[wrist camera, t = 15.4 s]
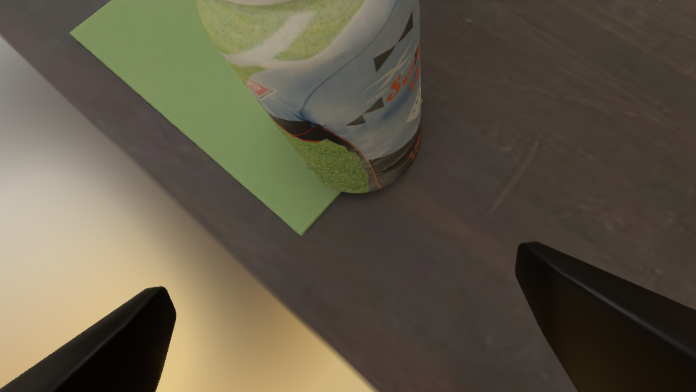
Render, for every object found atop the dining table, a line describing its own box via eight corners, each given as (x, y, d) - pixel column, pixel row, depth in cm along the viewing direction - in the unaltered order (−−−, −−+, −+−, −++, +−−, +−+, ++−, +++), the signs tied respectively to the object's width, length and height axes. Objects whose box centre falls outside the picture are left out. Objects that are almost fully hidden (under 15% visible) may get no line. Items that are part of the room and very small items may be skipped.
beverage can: (425, 193, 18) (530, -13, 7) (281, 209, 18) (139, 32, 7) (406, 88, 20) (462, -210, 9) (276, 102, 20) (161, -174, 9)
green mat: (301, 236, 18) (300, 235, 18) (72, 36, 23) (68, 32, 22) (422, 102, 20) (423, 99, 20) (190, -55, 25) (188, -60, 24)
